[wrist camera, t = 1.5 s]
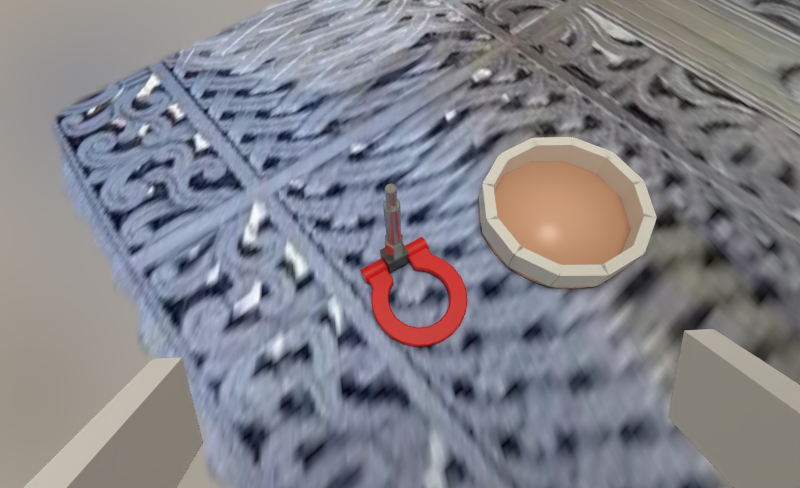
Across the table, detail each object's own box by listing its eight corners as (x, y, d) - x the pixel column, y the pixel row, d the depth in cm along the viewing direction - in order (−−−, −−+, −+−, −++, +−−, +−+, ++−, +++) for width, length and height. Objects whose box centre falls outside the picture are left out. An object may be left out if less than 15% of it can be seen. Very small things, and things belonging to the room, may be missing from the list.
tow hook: (483, 316, 35) (428, 236, 38) (523, 261, 23) (438, 152, 27) (402, 366, 33) (351, 277, 37) (401, 333, 22) (327, 207, 25)
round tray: (564, 137, 44) (574, 116, 41) (670, 241, 37) (691, 224, 35) (450, 195, 40) (452, 177, 38) (545, 319, 34) (556, 307, 31)
